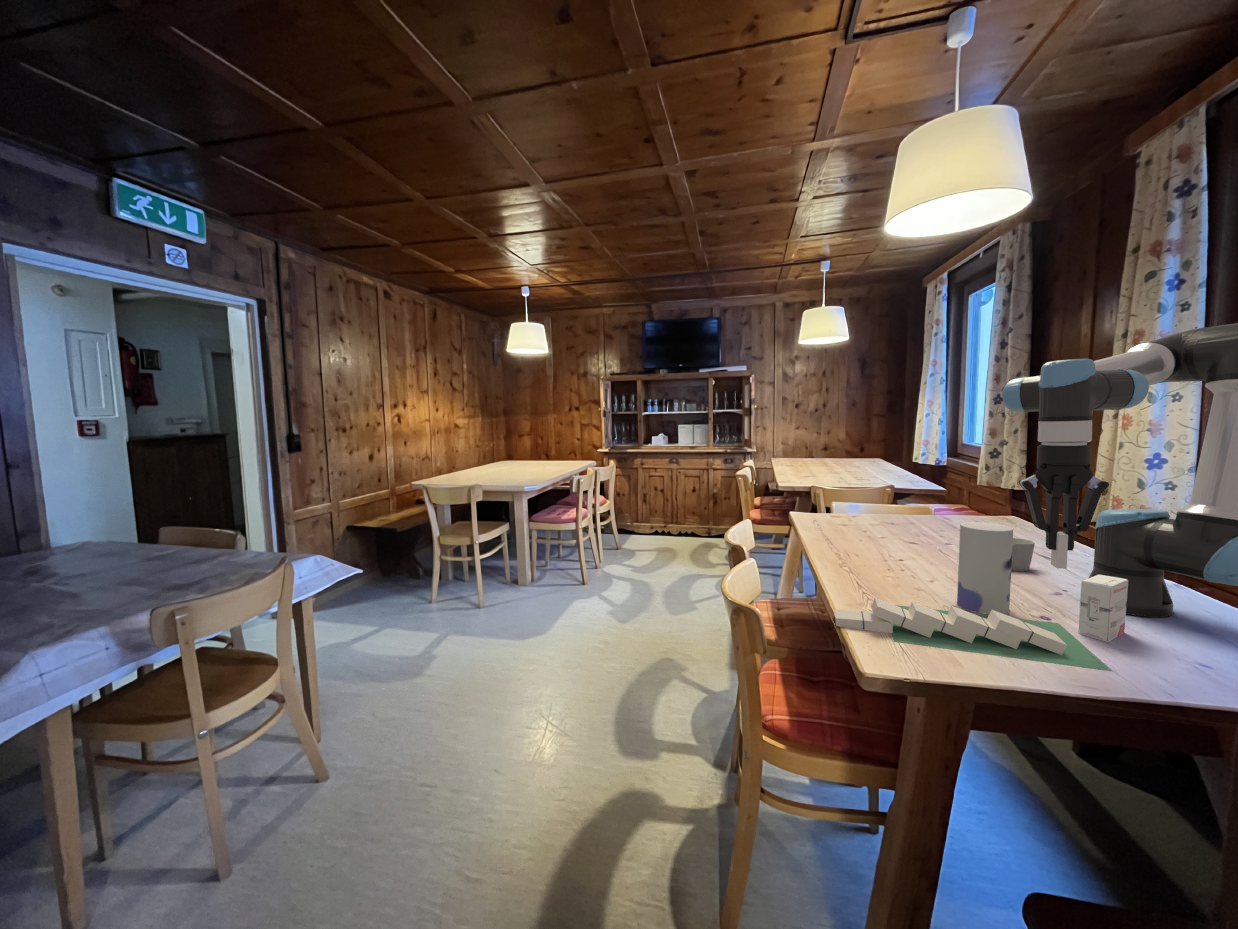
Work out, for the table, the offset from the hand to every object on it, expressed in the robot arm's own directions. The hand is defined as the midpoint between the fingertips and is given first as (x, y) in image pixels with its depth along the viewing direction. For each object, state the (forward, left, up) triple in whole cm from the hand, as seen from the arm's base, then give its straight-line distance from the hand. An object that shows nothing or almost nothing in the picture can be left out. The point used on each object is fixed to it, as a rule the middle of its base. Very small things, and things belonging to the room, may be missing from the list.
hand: (1058, 566), depth 94 cm
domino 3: (+14, 0, -15) cm, 21 cm away
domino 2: (+21, 0, -15) cm, 26 cm away
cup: (-11, -59, -17) cm, 62 cm away
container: (+7, -21, -17) cm, 27 cm away
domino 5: (0, 0, -15) cm, 15 cm away
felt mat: (+11, -4, -17) cm, 20 cm away
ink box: (-12, -12, -17) cm, 24 cm away
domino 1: (+28, 0, -15) cm, 32 cm away
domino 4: (+6, 0, -15) cm, 17 cm away
